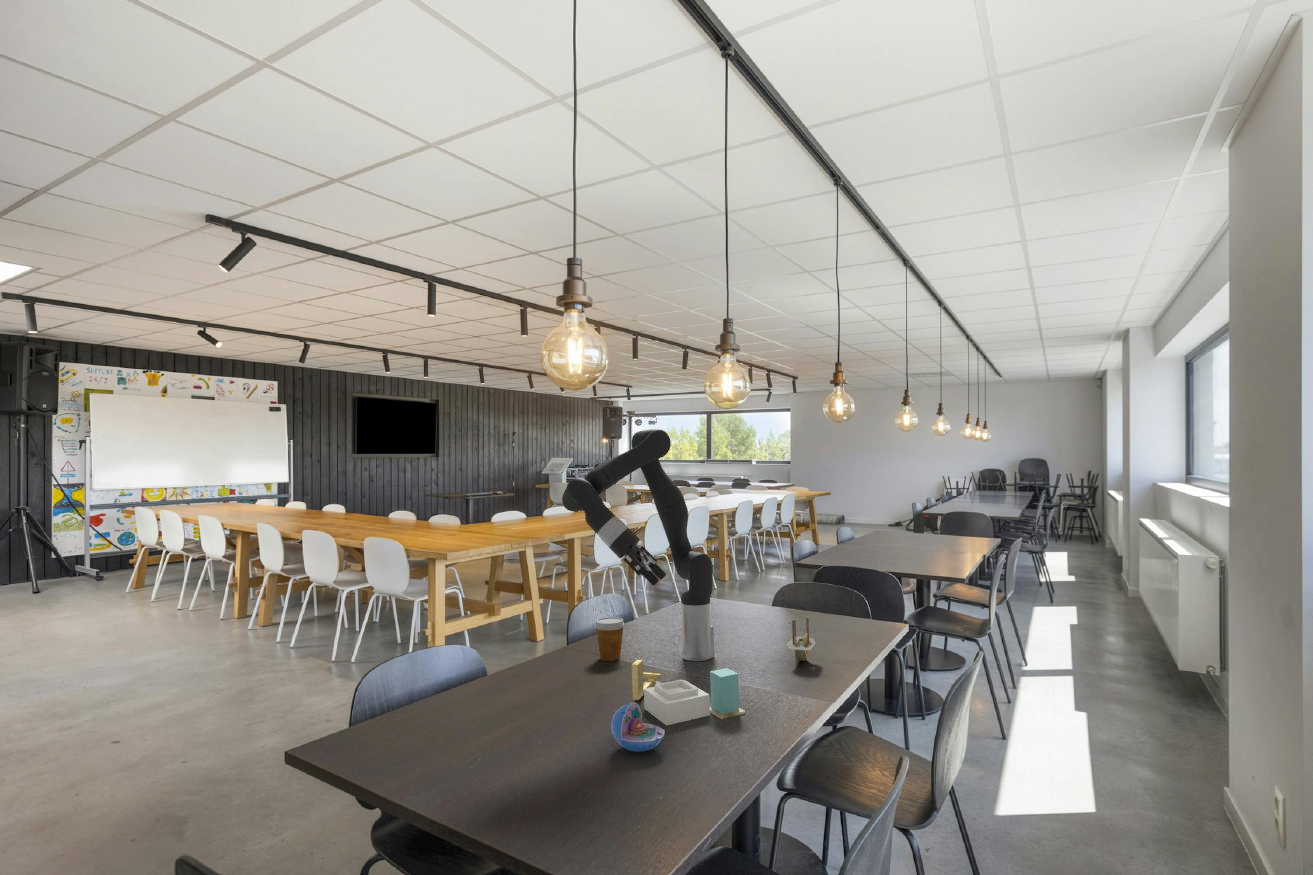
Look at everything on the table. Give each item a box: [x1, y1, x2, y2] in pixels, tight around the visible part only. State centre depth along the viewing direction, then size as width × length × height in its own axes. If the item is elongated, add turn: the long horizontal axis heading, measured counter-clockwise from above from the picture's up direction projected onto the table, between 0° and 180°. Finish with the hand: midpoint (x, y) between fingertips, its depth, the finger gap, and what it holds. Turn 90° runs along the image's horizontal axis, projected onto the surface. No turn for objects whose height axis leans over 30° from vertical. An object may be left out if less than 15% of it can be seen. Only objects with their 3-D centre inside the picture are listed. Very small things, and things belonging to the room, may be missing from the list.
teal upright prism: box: [709, 667, 740, 715], centre depth 160 cm, size 5×5×9 cm
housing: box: [643, 678, 711, 726], centre depth 160 cm, size 12×12×6 cm
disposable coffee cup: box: [594, 616, 625, 662], centre depth 206 cm, size 10×10×12 cm
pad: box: [710, 705, 746, 720], centre depth 160 cm, size 7×7×1 cm
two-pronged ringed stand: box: [786, 617, 816, 669], centre depth 196 cm, size 21×25×14 cm
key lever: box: [631, 659, 662, 701], centre depth 174 cm, size 14×5×9 cm, turn 161°
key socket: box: [643, 680, 663, 687], centre depth 179 cm, size 6×6×1 cm
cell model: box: [610, 701, 665, 753], centre depth 140 cm, size 10×12×10 cm
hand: (660, 580), depth 172 cm, fingers open, 8 cm apart
